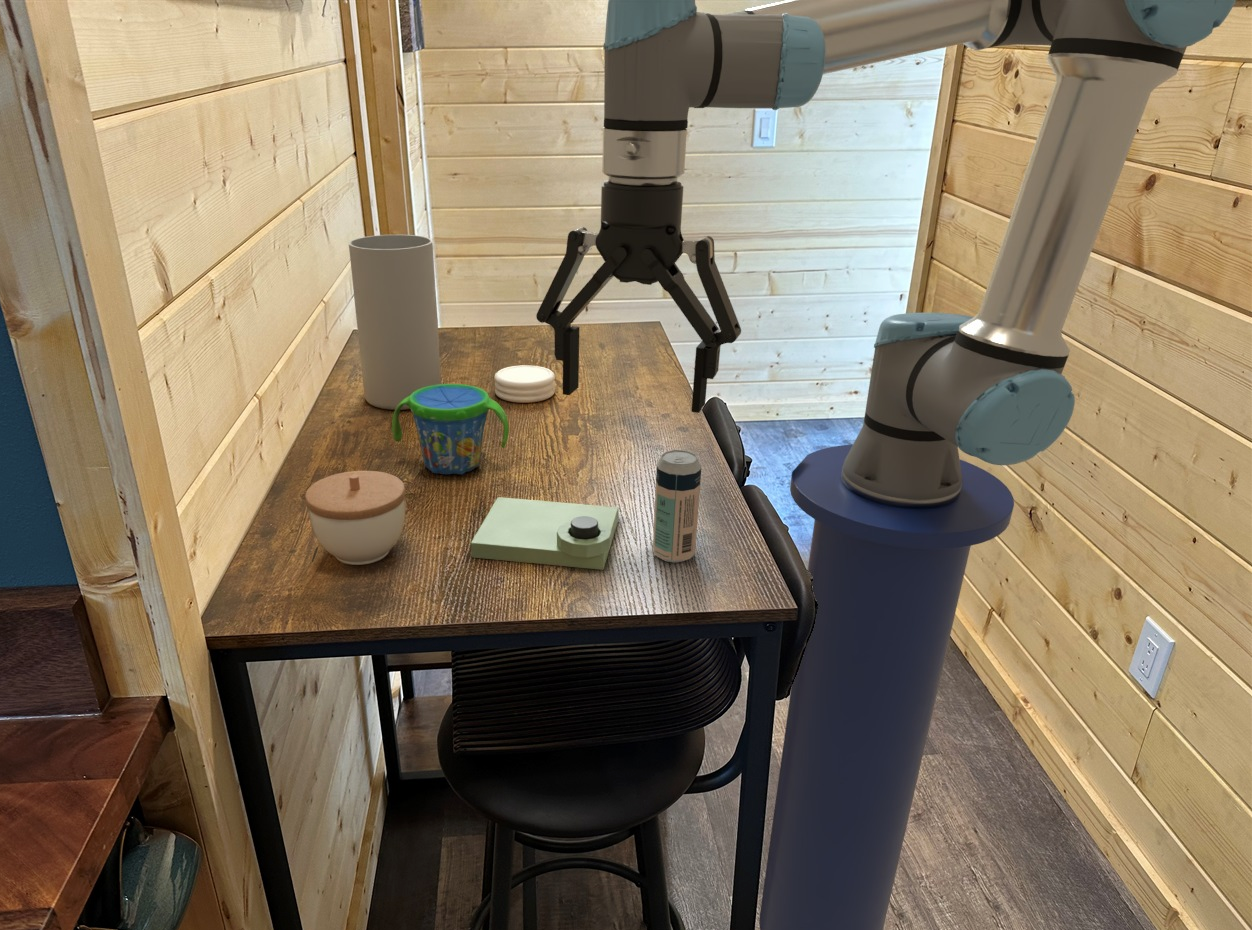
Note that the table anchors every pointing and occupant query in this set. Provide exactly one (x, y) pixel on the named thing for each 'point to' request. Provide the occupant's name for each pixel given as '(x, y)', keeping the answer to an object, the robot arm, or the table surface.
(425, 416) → the snack cup
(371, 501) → the trinket box
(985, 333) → the robot arm
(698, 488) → the beer can
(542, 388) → the coaster
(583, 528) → the button
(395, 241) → the cylinder vase
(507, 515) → the scale
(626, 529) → the table surface
